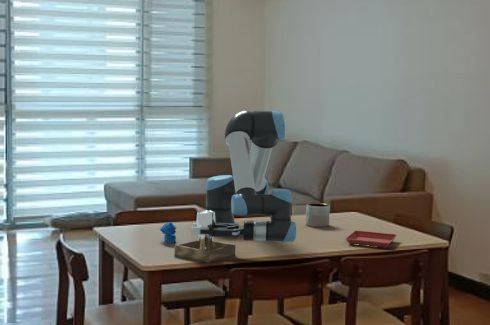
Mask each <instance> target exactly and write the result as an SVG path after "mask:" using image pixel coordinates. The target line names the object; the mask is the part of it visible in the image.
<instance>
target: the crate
mask: <svg viewBox="0 0 490 325" xmlns="http://www.w3.org/2000/svg"><path fill="white" fill-rule="evenodd" d="M197 248H198V239H196V240H191V241H187V242H183V243H179V244H178V243H177V244H174V257H178V256H179V258H184V259H188V260H194V261H198V262H202V263H207V264H208V263H212V262H216V261H220V260H224V259H227V257H228V258H231V257H235V256H236V244H233V243H227V242H222V241H217V240H213V250H210V251H205V250H200V249H197ZM234 255H235V256H234Z"/></svg>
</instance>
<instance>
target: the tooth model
mask: <svg viewBox="0 0 490 325" xmlns="http://www.w3.org/2000/svg"><path fill="white" fill-rule="evenodd" d="M196 223H197V227H209V226H211V228H215V212H214V211H207V210H206V209H205V210H198V211H197V214H196ZM197 240H198V248H197V249H200V250H205V251H210V250H213V241H214V237H211V236H210V235H197Z"/></svg>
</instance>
